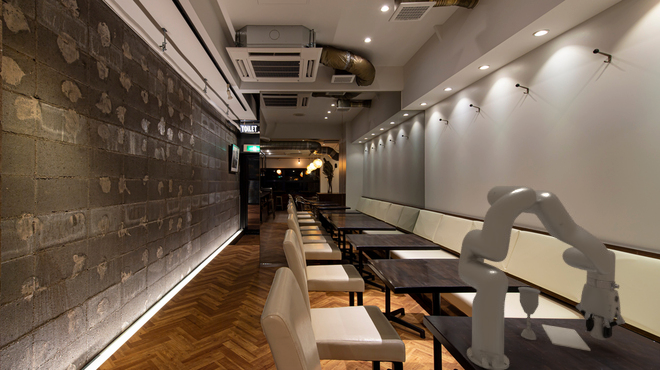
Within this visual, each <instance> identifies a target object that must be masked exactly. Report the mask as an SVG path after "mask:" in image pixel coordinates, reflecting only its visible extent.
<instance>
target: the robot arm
mask: <svg viewBox="0 0 660 370" xmlns="http://www.w3.org/2000/svg"><path fill="white" fill-rule="evenodd" d="M486 196H487V197H486V199H487V202H488V204H489V206H490V207H489V208H488V210H487V211H486V213H485V215H484V218H483V224H482V227H481V229H479V228H476V229H472V230H469V231H468V232H467V233H466V234H465V236H464V237H463V240H462V243H461V248H460V254H459V260H458V268H457V271H458V273H457V274H458V276H459V278H460V280H461V281H462V282H464V284H466V285H469V286H470V287H471V288H473V289H475V290H476V293H475V295H474V298H473V299H472V304H471V305H472V308H471V346H469V348H467V350H466V356H467V358H468V359H469V360H470V361H471V362H472V363H474V364H475V365H477V366H479V367H480V368H484V369H486V370H507V369H509V367H510V359H509V357H507V355H505V307H506V304H505V303H506V298H507V297H506V296H507V293H508V289H509V279H508V276H507V274H506V273H505V272H504V271H503V270H502V269H500V268H498V267H497V266H494V265H492V264H490V263H486V262H485V260H487V261H490V262H494V263H500V262H503V261H505V260H506V258H507V257H508V254H509V247H510V241H511V237H512V236H511V235H512V230H513V225H514V223H515V221H516V219H517V218H518V217H519V215H521V214H523V213H526V214H532V215H533V214H534V215H535V216H536V218H538V220H539V221H540V222H541V224H542V226H543V227H544V228H545V230H546V231H547V233H548V234H549V235H550V236H552V237H553V238H555V239H557V240H558V241H561V242H562V243H565V244H567V245H569V246H570V247H567V248H566V249H565V250H564V251H563V252H562V260H563V262H564V263H565V264H566V265H568V266H569V267H572V268H573V269H579V270H581V271H586V283H584V285H583V287H582V292H581V296H580V302H579V303H577V304H576V305H575V308H576V309H577V310H579V312H580V313H581V314H582V316H584V320H585V328H586V331H587V332H591V330H592V329H593V327H594V320H595V319H594V317H593V316H594V315H598V316H601V317H604V325H603V328H604V329H603V337H604V338H607V339H609V338H611V337H612V336H613V328H614V327H616V326H618V325H623V324H626V320H625V318H623V316H622V315H621V314H622V313H621V312H622V311H621V301H620V296H619V295H620V294H619V291H618V289H620V285H619V284H617V283H616V253H615V252H614V251H613V250H610V249H608V247H607V246H606V245H605V244H604V243H603V242H602V241H601V239H600V238H599V237H597V236H595V235H594V234H592V233H591V232H590V231H588V230H586V229H585V228H584V227H582V226H580V225H579V224H578V223H576V221H575V220H574V219H573V217H572V215H570V212H569V211H568V210H567V209H566V207H565V206H564V204H563V202H562V201H561V200H560V198H559V197H558V196H557V194H555V193H554V192H552V191H549V190H535V189H533V188H532V187H529V186H525V185H497V186H494V187H492V188H491V189H489V191H488V192H487V195H486ZM614 318H615V319H616V320H614Z"/></svg>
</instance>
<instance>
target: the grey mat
mask: <svg viewBox="0 0 660 370" xmlns="http://www.w3.org/2000/svg"><path fill="white" fill-rule="evenodd" d="M541 327H542V329H543V330H544V332H545V334H546V336H547V337H548V339H549V340H550V342H551V344H552V345H555V346H560V347H567V348H572V349H578V350H583V351H589V352H591V348H590V347H589V346H588V344H587V343H586V342H585V340H583V339H582V337H581V336H580V335H579V333H578V332H577V331H576V330H575V329H574V328H568V327H561V326H555V325H554V326H553V325H548V324H544V323H543V324H541Z"/></svg>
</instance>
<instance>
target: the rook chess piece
mask: <svg viewBox="0 0 660 370" xmlns="http://www.w3.org/2000/svg"><path fill="white" fill-rule="evenodd" d="M593 320H594V327H593V329H592V330H591V331H590V333H589V334H590V336H591V337H592V338H594V339H596V340H599V341H605V340H607V339H608V338H604V337H603V329H604V325H605V320H604V317H601V316H598V315H595V314H594V315H593Z"/></svg>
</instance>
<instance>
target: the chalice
mask: <svg viewBox="0 0 660 370" xmlns="http://www.w3.org/2000/svg"><path fill="white" fill-rule="evenodd" d="M517 289H518V291H519V303H520V306H521V308H522V310H523V312H524V313H525V314H526V316H527V317H526V323H525V324H526V328H523V330H522V331H521V333H520V336H521V337H522V338H525V339H527V340H531V341H535V340H537V339H538V338H537V336H536V334H535V332H534V331H533V329H532V328H531V325H532V323H531V321H532V318H531V315H534V314H535V312H536V310H537V309H538V307H539V303H540V302H539V297H540V296H539V295H540V293H541V290H539V289H537V288H533V287H527V286H521V287H520V286H519V287H518V288H517Z"/></svg>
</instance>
